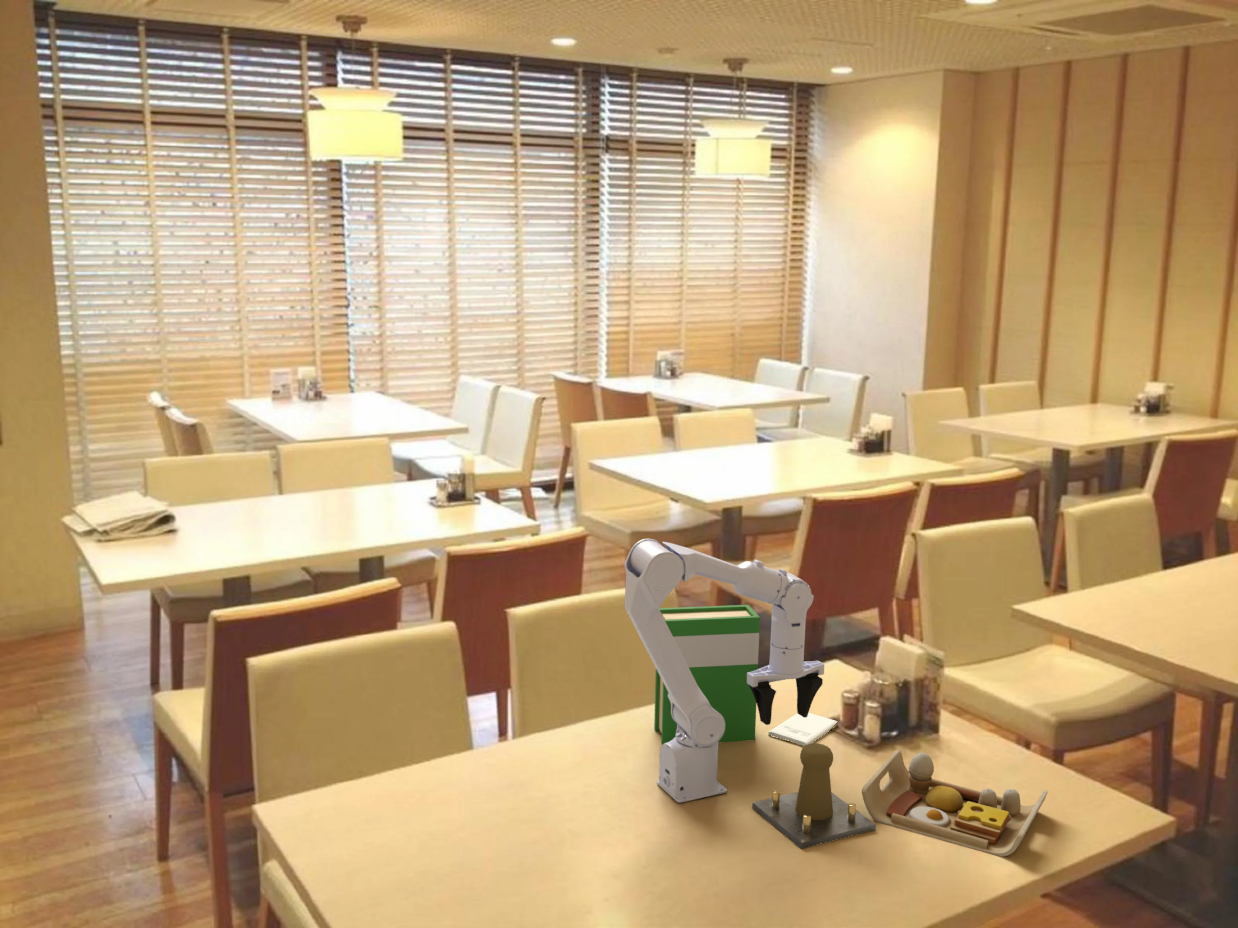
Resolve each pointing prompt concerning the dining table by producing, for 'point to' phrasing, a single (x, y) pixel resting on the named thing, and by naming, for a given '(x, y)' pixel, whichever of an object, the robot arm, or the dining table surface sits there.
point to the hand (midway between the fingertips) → (783, 718)
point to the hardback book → (715, 665)
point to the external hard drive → (803, 728)
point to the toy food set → (947, 807)
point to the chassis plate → (810, 830)
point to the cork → (815, 782)
